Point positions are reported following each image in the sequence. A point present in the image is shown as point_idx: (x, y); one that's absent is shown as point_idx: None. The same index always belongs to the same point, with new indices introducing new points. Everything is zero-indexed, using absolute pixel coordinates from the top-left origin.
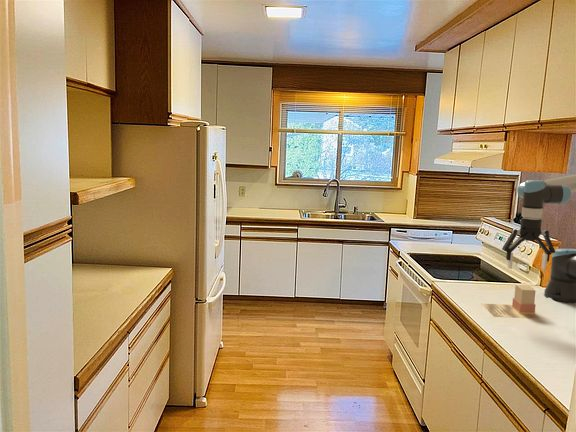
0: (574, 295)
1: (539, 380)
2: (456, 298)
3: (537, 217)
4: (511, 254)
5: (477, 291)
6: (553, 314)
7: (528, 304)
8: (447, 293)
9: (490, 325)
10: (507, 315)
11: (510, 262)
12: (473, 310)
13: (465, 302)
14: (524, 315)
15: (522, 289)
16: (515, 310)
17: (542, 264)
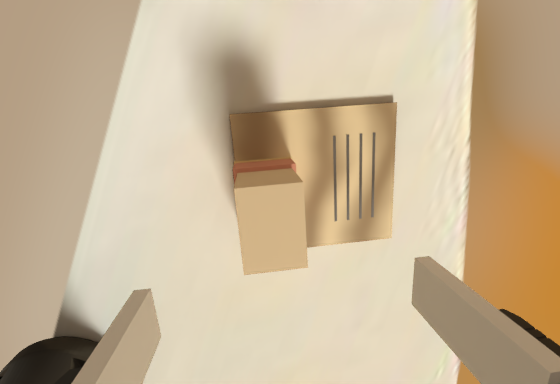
0: (21, 366)
1: None
2: None
3: None
4: (555, 355)
5: (351, 369)
6: (157, 194)
7: (262, 167)
8: None
9: (434, 15)
10: (343, 125)
11: (468, 288)
12: (434, 173)
13: (430, 250)
14: (278, 138)
15: (300, 190)
16: None
17: (144, 354)
